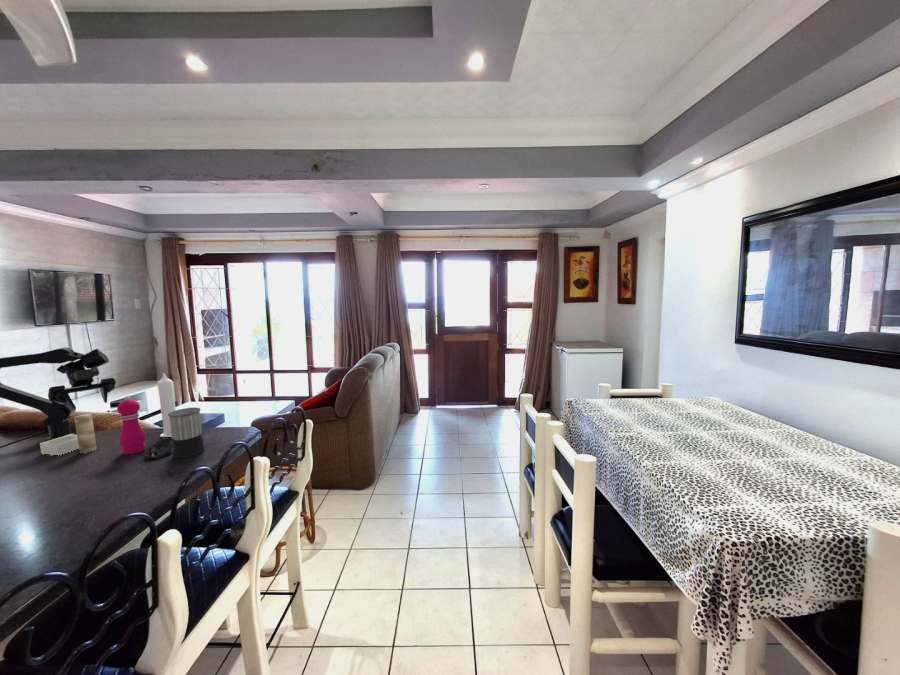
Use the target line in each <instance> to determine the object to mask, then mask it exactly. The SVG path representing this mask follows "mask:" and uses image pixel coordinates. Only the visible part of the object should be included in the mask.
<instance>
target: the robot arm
mask: <svg viewBox="0 0 900 675" xmlns="http://www.w3.org/2000/svg"><path fill="white" fill-rule="evenodd" d="M109 362H110V360H109V358H108V356H107V355H106V354H105V353H103V352H102V351H100V350H99V348H95V349H92V350H91V351H90V352H88V353H80V352H77V351H75V350H73V349H72V348H70V347H60V348H56V349H52V350H49V351H44V352H40V353H30V354H21V355H14V356H6V357H0V370H1V369H3V368H10V367H20V366H26V365H27V366H28V365H35V364H61V365H60V366H59V367H57V368H56V371H57V372H58V373H61V374H66V377H67V379H68V383H69V385H70V386H71V387H66V386H65V385H63V384H62V385H56V386H50V387H49V389H48V393H47V398H45V397H42V396H40V395H36V394H33V393H30V392H28V391H24V390H21V389H18V388H15V387H12V386H8V385H6V384H3V383H2V382H1V381H0V398H1V399H3V400H8V401H10V402H13V403H17V404H19V405H22V406H26V407H29V408H32V409H35V410H39V411H40V412H41V413H43V414H44V415H45V416H47V417H46V418H45V419H44V420H43V421H42V423H43V425H44V426H45V427H47V428H48V433H49V436H48V437H45V438H44V440H46V441H49V440H53V439H56V438H59V437H63V436H66V435H69V434H74V435H77V432H76V433H75V432H71V426H70V421H69V419H71V418H72V415H74V414H75V412H76V411H77V407H76V405H75V403H74V402H73V400H72V398H71V397H70V394H72V393H82V392H87V391H93V390H98V389H99V391H100V395H101V398H102V400H103V402H104V404H107V403H108V393H111V392H112V391H114V390H115V387H116V384H117V381H116V379H115V378H114V377H107V378H102V379H100V382H99V383H94V378H95V377H97V376H99V375H100V371H99V367H102V366H104V365H105V364H108V363H109ZM62 364H63V365H62Z"/></svg>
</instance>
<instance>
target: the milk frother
mask: <svg viewBox="0 0 900 675" xmlns="http://www.w3.org/2000/svg"><path fill="white" fill-rule="evenodd" d="M200 411H201V408H200V407H184V408H180V409H176V411H173V412H170V413H169V414H168V416H169V418H170V426H171V433H172V437H171V439H172V440H171V441H172V443H169V442H166V441H161V442H160V441H159V442H157V443H154V444H152V445H151V446H149V447H148V448H146V449H145V450H144V451H145V452H144V456H145V458H146V459H151V460H152V459H159V458H163V457H165V456H167V455H169V454H170V453H171V452H172V450H173V453H172V456H173V457H174V458H179V459H182V458H188V457H189V458H190V457H193V456H196V455H198V454H201V453H202V452H204V451H205V450H206V447H205V442H204V438H203V437H204V436H203V428H202V421H201V420H202V419H201V412H200ZM159 447H166V450H165V451H164V452H162V453H159V454H158V450H157V448H159ZM172 448H173V449H172Z"/></svg>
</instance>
